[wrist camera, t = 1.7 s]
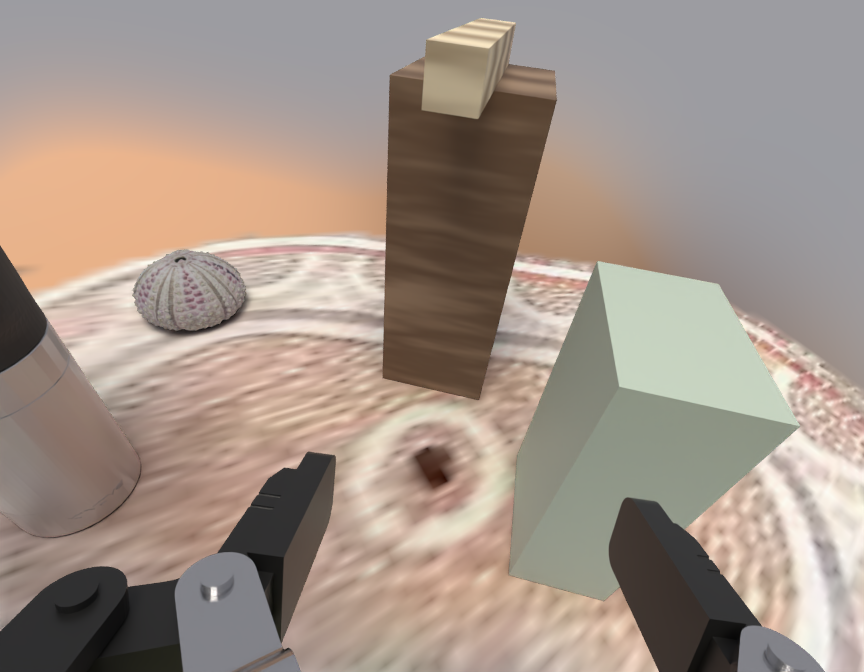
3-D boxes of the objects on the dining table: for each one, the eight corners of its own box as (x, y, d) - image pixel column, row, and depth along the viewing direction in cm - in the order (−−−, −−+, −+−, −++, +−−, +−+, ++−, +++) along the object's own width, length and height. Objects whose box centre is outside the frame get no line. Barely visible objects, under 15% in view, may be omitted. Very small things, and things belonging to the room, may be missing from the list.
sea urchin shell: (198, 272, 64) (182, 224, 58) (270, 298, 61) (260, 250, 55) (118, 319, 54) (90, 267, 49) (198, 353, 51) (178, 301, 46)
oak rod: (478, 119, 23) (488, 48, 20) (421, 110, 23) (426, 39, 21) (508, 64, 39) (515, 22, 37) (475, 60, 39) (480, 18, 37)
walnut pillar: (478, 400, 49) (556, 100, 28) (382, 377, 51) (389, 74, 30) (491, 328, 60) (554, 70, 39) (411, 311, 61) (431, 53, 40)
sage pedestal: (603, 600, 34) (800, 426, 19) (508, 575, 35) (619, 386, 19) (592, 474, 43) (718, 284, 28) (517, 456, 44) (597, 261, 28)
